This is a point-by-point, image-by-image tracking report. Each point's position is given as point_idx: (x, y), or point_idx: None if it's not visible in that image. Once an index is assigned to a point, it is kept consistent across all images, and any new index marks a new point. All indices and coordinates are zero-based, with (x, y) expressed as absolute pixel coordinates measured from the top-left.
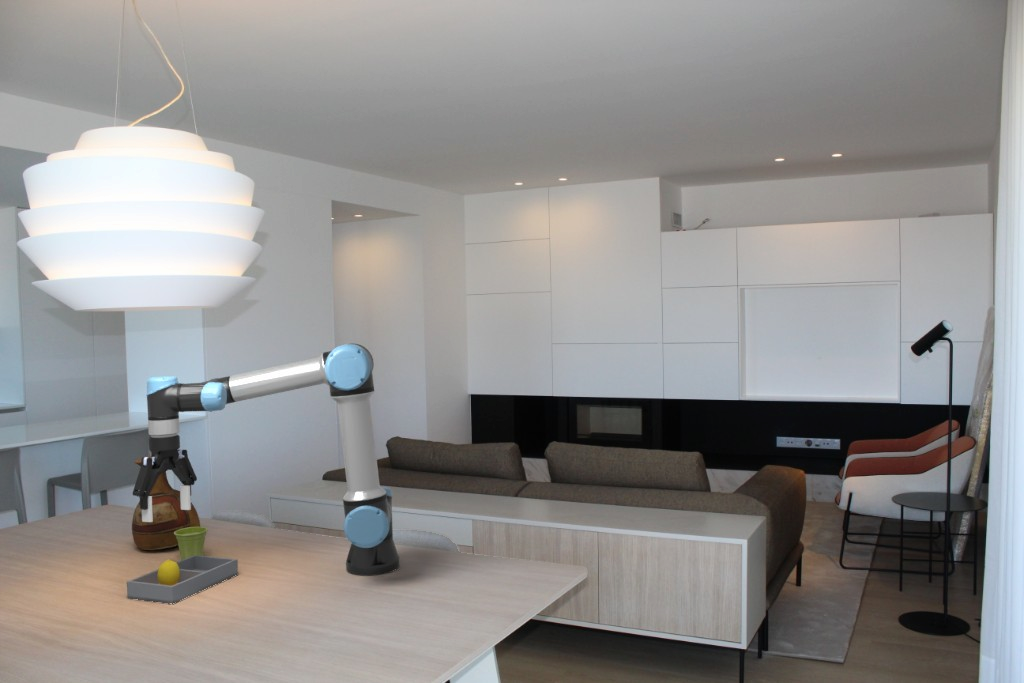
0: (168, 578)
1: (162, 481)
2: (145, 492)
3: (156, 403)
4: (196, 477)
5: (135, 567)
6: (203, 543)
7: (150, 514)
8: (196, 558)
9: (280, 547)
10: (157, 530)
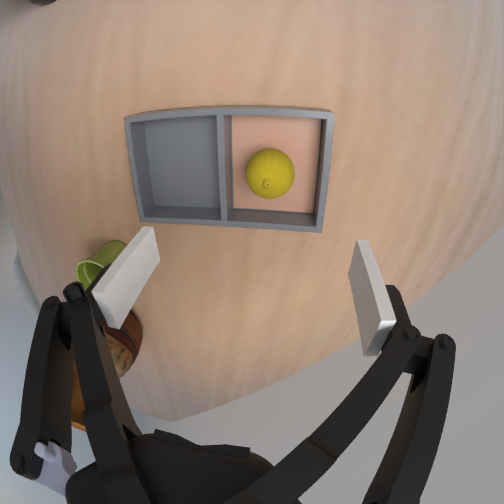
0: (289, 158)
1: (76, 386)
2: (414, 349)
3: None
4: (42, 306)
5: (186, 302)
6: (97, 252)
7: (373, 259)
8: (145, 212)
9: (33, 167)
10: (121, 331)
